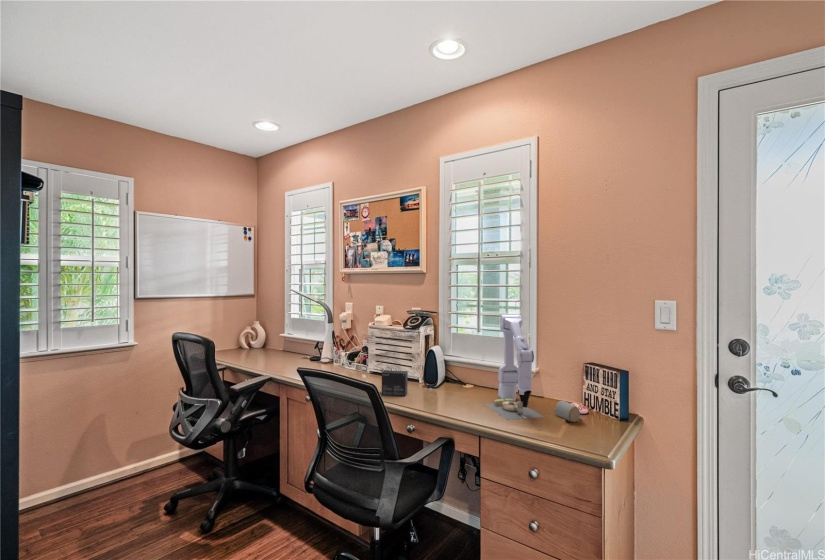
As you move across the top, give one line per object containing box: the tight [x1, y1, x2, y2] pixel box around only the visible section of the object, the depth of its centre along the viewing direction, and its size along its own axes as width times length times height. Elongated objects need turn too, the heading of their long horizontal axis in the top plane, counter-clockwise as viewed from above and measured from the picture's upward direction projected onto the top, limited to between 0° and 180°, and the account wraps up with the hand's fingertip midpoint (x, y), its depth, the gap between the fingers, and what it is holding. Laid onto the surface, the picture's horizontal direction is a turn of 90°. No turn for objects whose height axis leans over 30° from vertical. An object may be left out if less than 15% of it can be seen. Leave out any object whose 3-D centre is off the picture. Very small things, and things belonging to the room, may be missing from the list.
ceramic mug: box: [554, 400, 582, 423], centre depth 177 cm, size 11×8×8 cm
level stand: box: [484, 398, 545, 421], centre depth 184 cm, size 22×18×4 cm
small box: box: [381, 369, 409, 397], centre depth 213 cm, size 13×7×12 cm, turn 82°
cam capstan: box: [502, 400, 523, 414], centre depth 184 cm, size 13×8×5 cm, turn 15°
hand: (524, 406), depth 179 cm, fingers closed
